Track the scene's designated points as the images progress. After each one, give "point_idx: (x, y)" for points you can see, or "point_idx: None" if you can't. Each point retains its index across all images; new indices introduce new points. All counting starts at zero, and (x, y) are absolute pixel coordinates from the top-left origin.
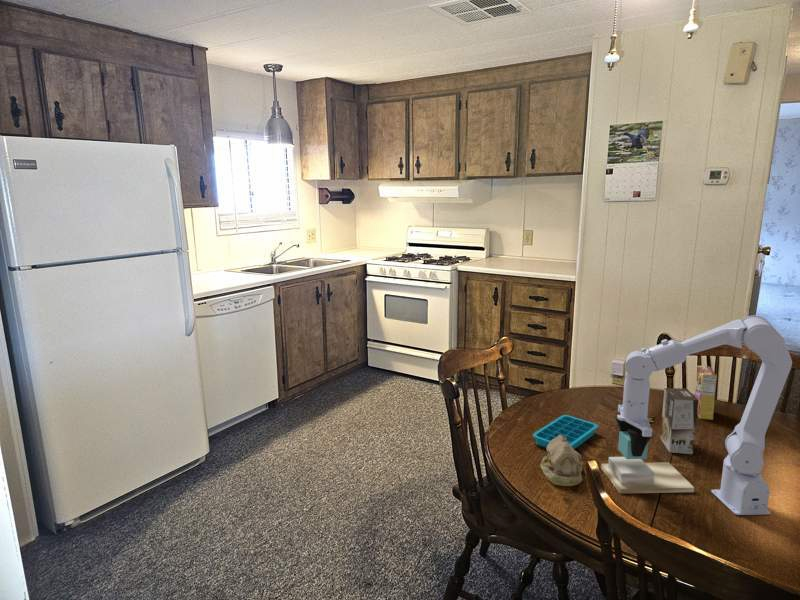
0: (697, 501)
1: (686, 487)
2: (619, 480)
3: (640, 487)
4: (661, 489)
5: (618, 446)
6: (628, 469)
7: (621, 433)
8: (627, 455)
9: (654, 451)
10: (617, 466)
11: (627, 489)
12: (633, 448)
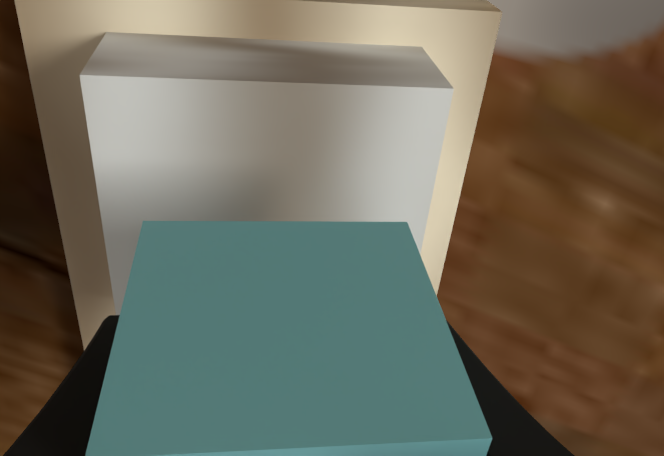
0: (8, 419)
1: None
2: (141, 39)
3: (67, 177)
4: (79, 304)
5: (410, 247)
6: (173, 178)
7: (400, 443)
8: (135, 260)
9: (565, 420)
10: (239, 94)
11: (28, 56)
12: (42, 408)
